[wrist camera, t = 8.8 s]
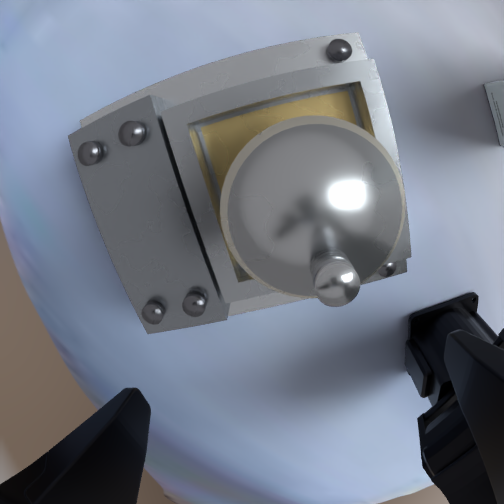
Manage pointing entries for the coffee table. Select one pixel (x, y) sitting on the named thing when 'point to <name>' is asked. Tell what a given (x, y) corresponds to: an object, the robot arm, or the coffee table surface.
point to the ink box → (497, 105)
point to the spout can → (313, 208)
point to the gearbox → (212, 170)
